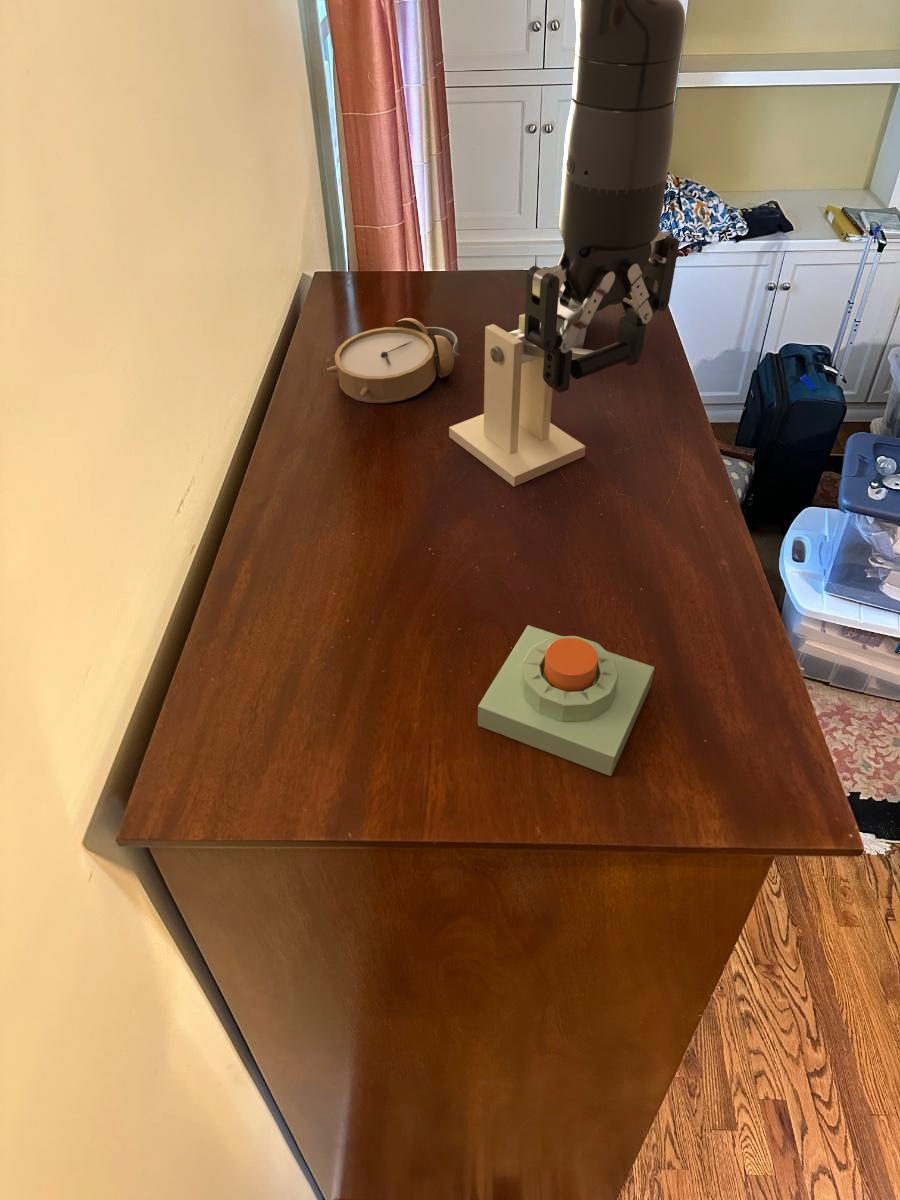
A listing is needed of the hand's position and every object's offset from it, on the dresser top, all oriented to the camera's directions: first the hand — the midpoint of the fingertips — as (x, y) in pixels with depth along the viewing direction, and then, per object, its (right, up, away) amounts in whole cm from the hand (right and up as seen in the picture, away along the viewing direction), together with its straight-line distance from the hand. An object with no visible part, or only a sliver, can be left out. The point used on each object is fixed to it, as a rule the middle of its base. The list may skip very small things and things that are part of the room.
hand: (592, 374), depth 74 cm
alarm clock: (-18, +7, +26) cm, 32 cm away
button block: (-4, -27, -11) cm, 29 cm away
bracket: (-6, -4, +14) cm, 16 cm away
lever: (-3, +2, +4) cm, 5 cm away
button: (-4, -24, -13) cm, 28 cm away
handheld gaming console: (+3, +13, +33) cm, 36 cm away
